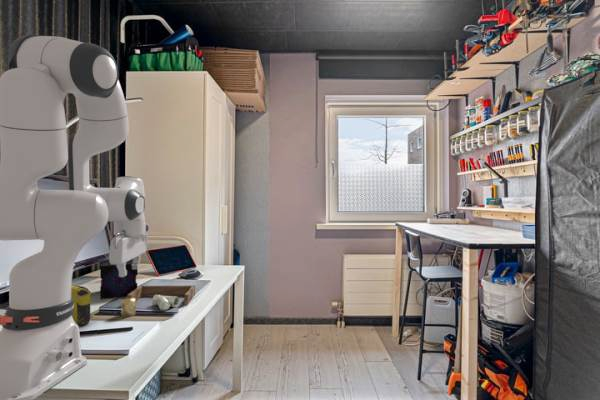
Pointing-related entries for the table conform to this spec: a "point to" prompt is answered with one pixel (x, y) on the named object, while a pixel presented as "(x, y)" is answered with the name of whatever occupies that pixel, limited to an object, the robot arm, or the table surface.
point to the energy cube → (116, 280)
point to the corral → (164, 292)
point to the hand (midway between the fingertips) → (129, 272)
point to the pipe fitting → (165, 301)
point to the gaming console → (81, 305)
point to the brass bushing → (128, 307)
